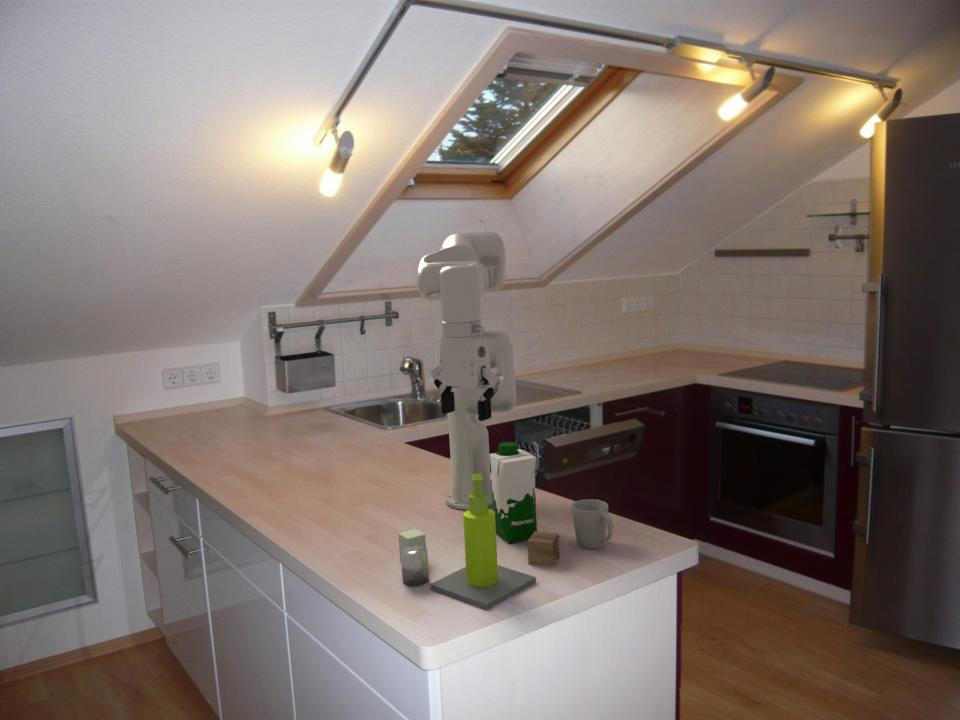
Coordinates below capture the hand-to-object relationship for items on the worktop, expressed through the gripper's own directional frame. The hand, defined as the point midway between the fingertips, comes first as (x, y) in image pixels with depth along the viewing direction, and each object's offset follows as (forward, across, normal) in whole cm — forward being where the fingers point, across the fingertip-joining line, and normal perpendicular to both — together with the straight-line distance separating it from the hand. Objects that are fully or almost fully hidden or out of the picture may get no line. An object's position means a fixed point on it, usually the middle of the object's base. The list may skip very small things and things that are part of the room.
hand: (466, 415), depth 157 cm
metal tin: (+30, +2, +15) cm, 33 cm away
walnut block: (+30, -12, -7) cm, 33 cm away
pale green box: (+30, +9, +9) cm, 32 cm away
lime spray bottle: (+28, -10, +8) cm, 31 cm away
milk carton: (+30, 0, -14) cm, 34 cm away
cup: (+30, -16, -19) cm, 39 cm away
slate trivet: (+29, -10, +9) cm, 32 cm away
